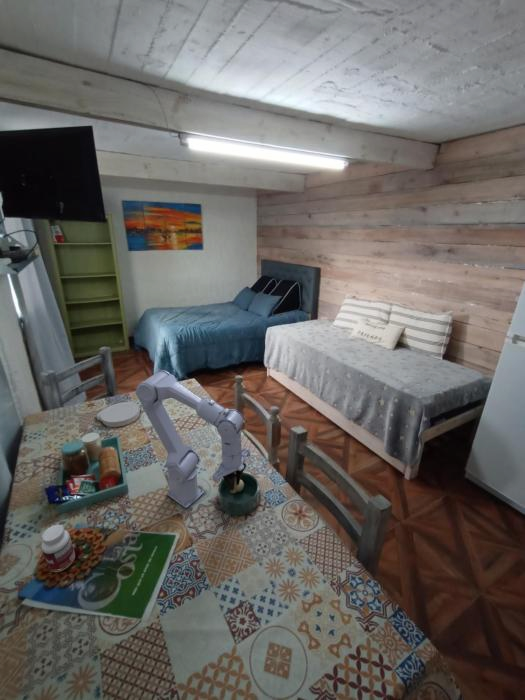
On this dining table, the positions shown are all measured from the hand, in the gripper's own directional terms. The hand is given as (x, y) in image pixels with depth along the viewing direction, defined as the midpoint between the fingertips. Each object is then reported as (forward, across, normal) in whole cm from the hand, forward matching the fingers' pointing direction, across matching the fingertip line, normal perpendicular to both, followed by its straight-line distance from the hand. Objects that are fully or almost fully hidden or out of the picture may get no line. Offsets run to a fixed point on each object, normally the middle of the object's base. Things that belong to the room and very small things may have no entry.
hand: (233, 485), depth 97 cm
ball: (+7, +6, +4) cm, 10 cm away
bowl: (+9, +4, +1) cm, 10 cm away
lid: (+10, +7, +78) cm, 79 cm away
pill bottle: (+10, -40, +26) cm, 49 cm away
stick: (+2, 0, 0) cm, 2 cm away
